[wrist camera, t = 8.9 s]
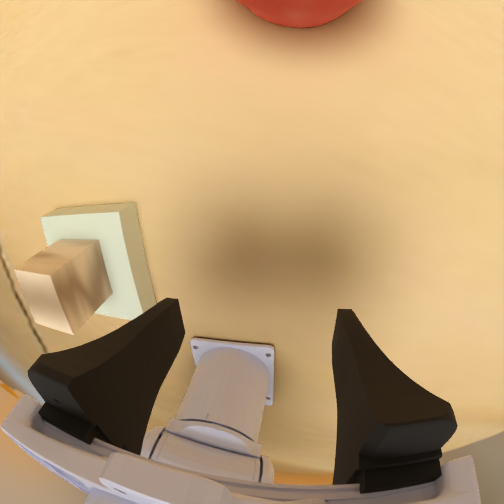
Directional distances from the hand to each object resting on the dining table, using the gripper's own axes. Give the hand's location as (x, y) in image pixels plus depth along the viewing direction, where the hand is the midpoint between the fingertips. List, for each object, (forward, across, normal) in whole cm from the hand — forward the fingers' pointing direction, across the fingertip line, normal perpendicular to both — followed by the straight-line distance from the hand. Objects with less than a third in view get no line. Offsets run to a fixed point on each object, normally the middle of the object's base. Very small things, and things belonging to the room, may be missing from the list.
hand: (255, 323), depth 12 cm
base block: (+10, +16, +2) cm, 19 cm away
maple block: (+7, +16, +2) cm, 18 cm away
